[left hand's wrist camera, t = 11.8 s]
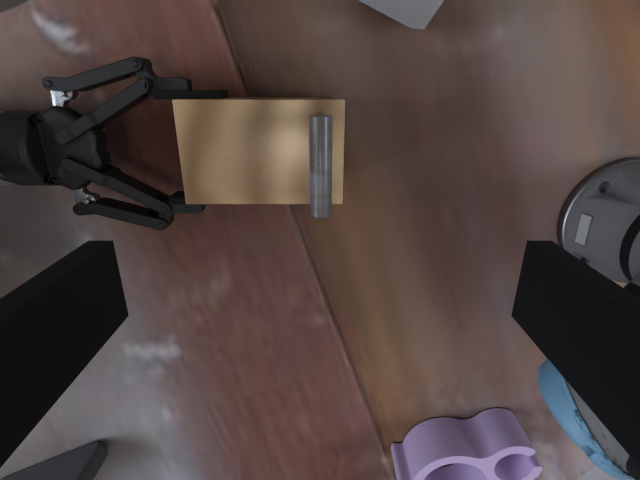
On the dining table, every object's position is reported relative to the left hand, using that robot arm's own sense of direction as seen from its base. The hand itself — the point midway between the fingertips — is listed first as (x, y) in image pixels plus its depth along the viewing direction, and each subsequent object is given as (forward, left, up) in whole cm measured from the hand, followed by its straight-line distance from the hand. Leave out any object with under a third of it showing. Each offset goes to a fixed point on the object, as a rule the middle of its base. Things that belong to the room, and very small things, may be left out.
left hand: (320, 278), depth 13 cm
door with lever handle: (+5, 0, -27) cm, 27 cm away
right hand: (+9, 0, -29) cm, 31 cm away
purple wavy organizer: (-22, +48, -36) cm, 64 cm away
